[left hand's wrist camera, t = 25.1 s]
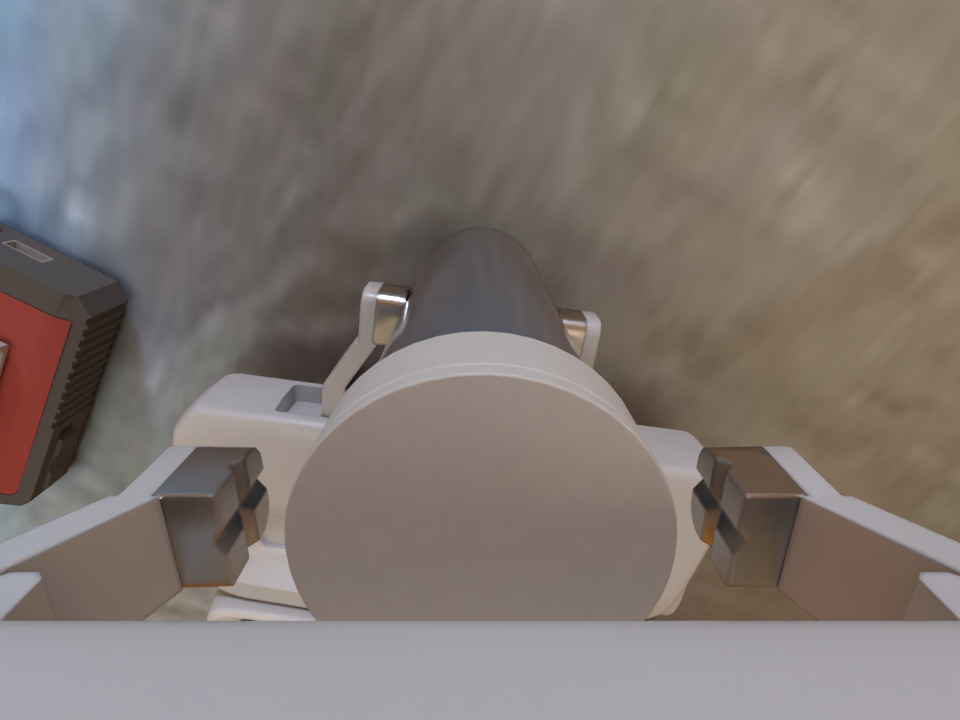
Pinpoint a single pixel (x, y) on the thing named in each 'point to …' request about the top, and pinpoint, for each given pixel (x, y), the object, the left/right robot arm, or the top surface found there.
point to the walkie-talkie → (47, 358)
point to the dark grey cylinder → (479, 294)
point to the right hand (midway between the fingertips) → (482, 300)
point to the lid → (480, 492)
